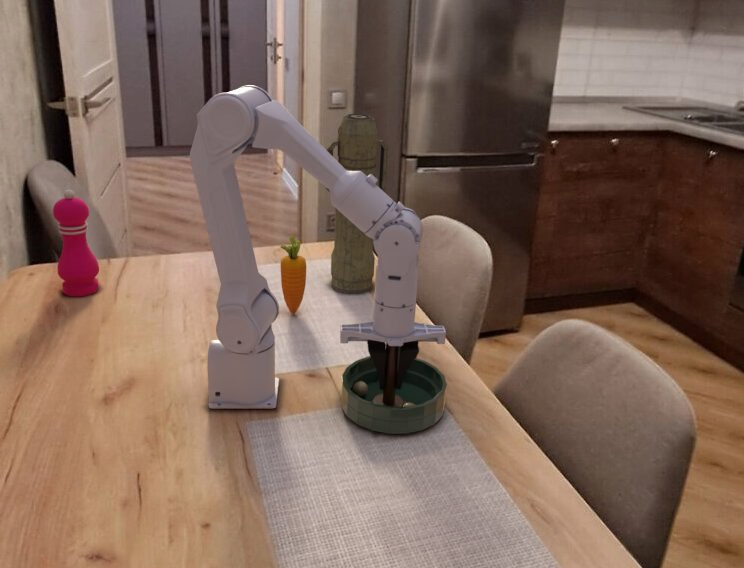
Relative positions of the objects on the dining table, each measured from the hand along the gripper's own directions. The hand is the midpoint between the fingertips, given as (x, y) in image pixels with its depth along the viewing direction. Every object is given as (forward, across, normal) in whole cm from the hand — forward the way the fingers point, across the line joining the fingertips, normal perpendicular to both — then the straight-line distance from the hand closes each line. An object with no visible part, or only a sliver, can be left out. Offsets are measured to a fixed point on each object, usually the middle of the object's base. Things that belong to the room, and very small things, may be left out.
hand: (389, 385), depth 96 cm
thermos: (+5, -4, +47) cm, 47 cm away
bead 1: (+3, -4, +4) cm, 6 cm away
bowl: (+4, +1, +2) cm, 5 cm away
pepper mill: (+5, -56, +42) cm, 70 cm away
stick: (+3, 0, 0) cm, 3 cm away
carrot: (+5, -15, +33) cm, 36 cm away
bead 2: (+3, +3, -2) cm, 5 cm away
